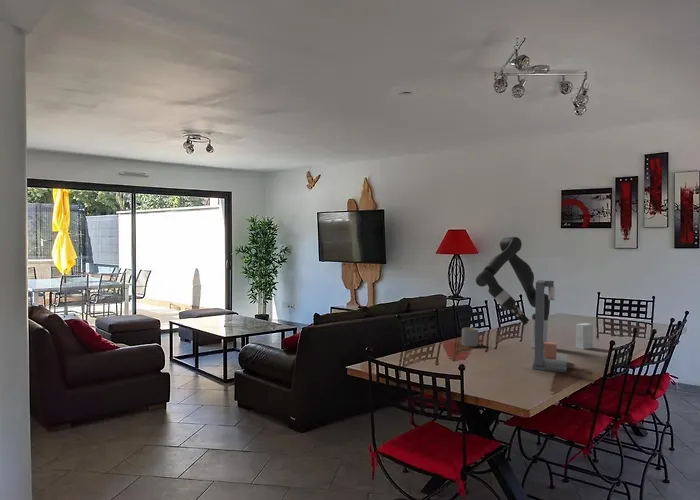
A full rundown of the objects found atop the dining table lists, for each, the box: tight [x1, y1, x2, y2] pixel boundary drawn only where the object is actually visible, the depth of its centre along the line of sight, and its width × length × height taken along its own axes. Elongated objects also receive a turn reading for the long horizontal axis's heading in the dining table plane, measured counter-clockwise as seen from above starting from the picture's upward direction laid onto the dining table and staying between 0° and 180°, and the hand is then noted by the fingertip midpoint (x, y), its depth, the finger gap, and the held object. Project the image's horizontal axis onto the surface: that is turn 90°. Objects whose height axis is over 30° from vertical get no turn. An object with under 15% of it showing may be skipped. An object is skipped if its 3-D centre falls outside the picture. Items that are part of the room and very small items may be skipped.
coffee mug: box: [461, 327, 479, 348], centre depth 326 cm, size 13×10×10 cm
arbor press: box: [531, 279, 568, 373], centre depth 272 cm, size 24×16×44 cm, turn 157°
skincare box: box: [575, 322, 594, 350], centre depth 316 cm, size 8×6×15 cm
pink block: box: [544, 341, 557, 358], centre depth 275 cm, size 6×6×7 cm
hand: (527, 322), depth 280 cm, fingers open, 8 cm apart
